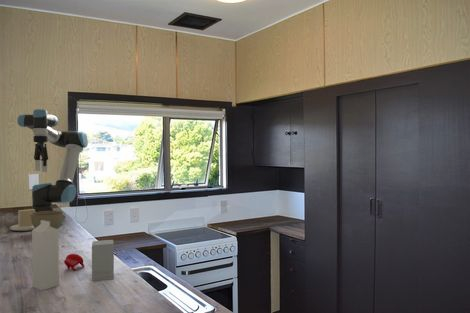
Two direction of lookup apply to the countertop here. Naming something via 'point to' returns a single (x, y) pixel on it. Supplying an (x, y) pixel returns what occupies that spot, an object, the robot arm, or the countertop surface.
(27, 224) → the lid
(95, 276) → the supplement box
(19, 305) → the countertop surface
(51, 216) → the planter bowl
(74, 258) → the cap
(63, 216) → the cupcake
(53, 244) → the milk
